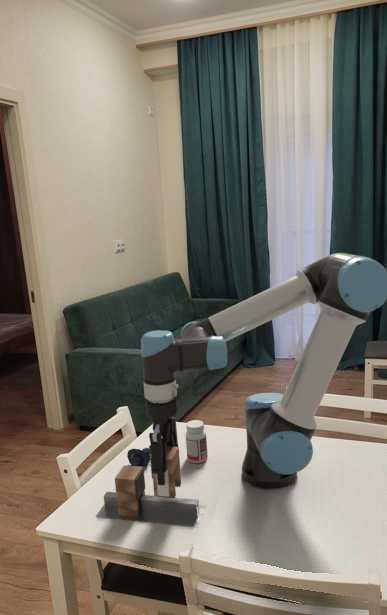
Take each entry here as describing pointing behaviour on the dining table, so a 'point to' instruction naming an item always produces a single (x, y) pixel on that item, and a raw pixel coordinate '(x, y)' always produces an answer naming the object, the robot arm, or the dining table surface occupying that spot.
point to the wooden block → (129, 490)
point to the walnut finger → (170, 472)
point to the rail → (157, 510)
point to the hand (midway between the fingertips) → (167, 487)
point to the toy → (139, 456)
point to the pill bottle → (196, 441)
